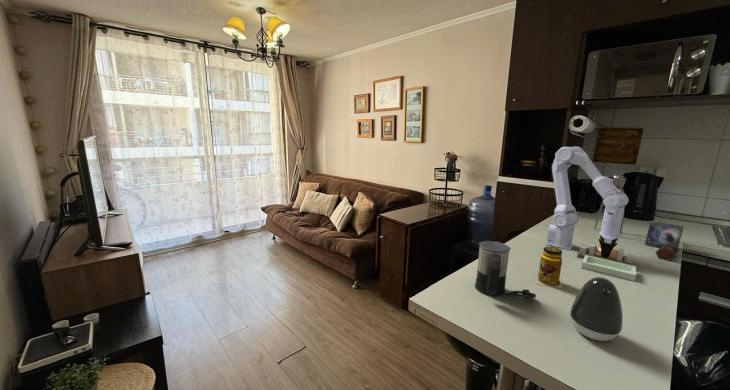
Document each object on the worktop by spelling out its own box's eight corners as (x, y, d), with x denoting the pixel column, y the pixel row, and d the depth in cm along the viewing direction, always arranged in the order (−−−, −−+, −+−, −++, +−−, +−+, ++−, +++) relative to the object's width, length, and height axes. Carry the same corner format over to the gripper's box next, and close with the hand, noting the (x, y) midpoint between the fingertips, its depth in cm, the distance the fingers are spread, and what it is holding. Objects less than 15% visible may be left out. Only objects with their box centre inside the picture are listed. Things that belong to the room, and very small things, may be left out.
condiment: (537, 284, 99) (542, 250, 96) (533, 273, 107) (538, 242, 104) (563, 289, 96) (569, 254, 94) (557, 277, 104) (562, 245, 101)
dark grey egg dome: (574, 341, 72) (585, 284, 68) (563, 317, 81) (572, 266, 78) (626, 353, 68) (640, 293, 65) (608, 326, 78) (620, 273, 74)
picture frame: (644, 245, 136) (649, 223, 134) (646, 241, 140) (651, 220, 138) (677, 252, 128) (682, 229, 126) (678, 248, 132) (683, 226, 130)
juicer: (594, 228, 158) (604, 173, 152) (621, 232, 152) (633, 175, 146) (594, 233, 151) (605, 175, 144) (623, 238, 144) (636, 177, 138)
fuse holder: (577, 257, 121) (578, 249, 120) (580, 249, 129) (581, 242, 128) (632, 270, 110) (634, 261, 109) (632, 261, 118) (634, 252, 117)
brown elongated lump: (672, 256, 129) (665, 263, 120) (659, 247, 131) (652, 254, 122) (684, 247, 125) (678, 254, 116) (671, 238, 128) (664, 245, 119)
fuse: (587, 257, 121) (590, 245, 120) (589, 253, 125) (591, 242, 124) (621, 265, 114) (623, 252, 113) (621, 260, 118) (623, 249, 117)
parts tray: (581, 268, 111) (582, 262, 111) (584, 260, 118) (585, 255, 117) (634, 281, 102) (636, 275, 101) (634, 272, 108) (635, 266, 108)
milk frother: (470, 281, 100) (474, 239, 97) (517, 282, 100) (523, 241, 97) (485, 305, 86) (491, 258, 83) (540, 307, 86) (548, 259, 83)
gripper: (624, 229, 108) (617, 264, 111) (625, 221, 119) (618, 252, 122) (600, 225, 113) (594, 258, 116) (602, 217, 124) (597, 248, 127)
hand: (605, 255), depth 119 cm, fingers closed on fuse, 4 cm apart
